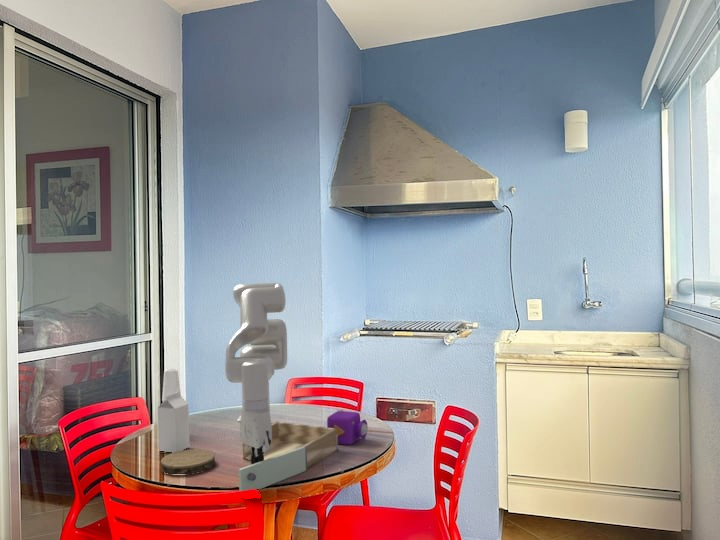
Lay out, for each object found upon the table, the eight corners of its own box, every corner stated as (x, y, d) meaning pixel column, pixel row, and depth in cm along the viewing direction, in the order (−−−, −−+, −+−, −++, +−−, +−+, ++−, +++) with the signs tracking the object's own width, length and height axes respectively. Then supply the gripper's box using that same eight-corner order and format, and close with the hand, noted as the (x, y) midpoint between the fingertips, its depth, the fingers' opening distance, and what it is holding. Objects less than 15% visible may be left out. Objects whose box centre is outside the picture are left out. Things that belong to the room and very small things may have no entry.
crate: (243, 459, 176) (242, 437, 176) (277, 441, 193) (277, 421, 193) (307, 469, 165) (306, 446, 165) (338, 450, 182) (337, 428, 182)
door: (244, 497, 145) (244, 471, 145) (239, 495, 147) (238, 469, 147) (311, 470, 163) (310, 447, 163) (305, 469, 165) (304, 445, 165)
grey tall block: (167, 438, 200) (165, 372, 200) (160, 434, 205) (158, 370, 205) (185, 434, 205) (183, 369, 205) (177, 430, 210) (175, 367, 210)
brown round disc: (163, 480, 160) (163, 470, 160) (159, 463, 175) (158, 453, 175) (219, 470, 167) (218, 460, 167) (210, 455, 182) (210, 446, 182)
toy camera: (365, 447, 184) (364, 417, 184) (325, 445, 187) (324, 416, 187) (371, 437, 195) (370, 409, 195) (333, 436, 198) (332, 408, 198)
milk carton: (189, 447, 189) (188, 392, 189) (176, 454, 183) (174, 396, 183) (172, 445, 192) (170, 391, 192) (158, 452, 185) (157, 395, 185)
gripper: (230, 402, 160) (232, 466, 160) (259, 411, 149) (261, 479, 149) (252, 398, 165) (254, 459, 165) (282, 406, 155) (284, 471, 155)
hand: (257, 468), depth 157 cm, fingers closed
